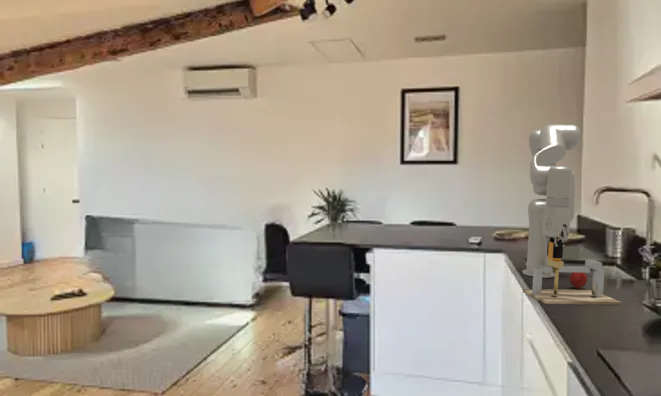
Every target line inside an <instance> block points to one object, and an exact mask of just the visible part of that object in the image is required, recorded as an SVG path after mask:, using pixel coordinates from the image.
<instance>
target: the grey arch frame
mask: <svg viewBox="0 0 661 396" xmlns="http://www.w3.org/2000/svg"><path fill="white" fill-rule="evenodd" d="M602 267H603V262H601V261H598V260H595V259H585V261H584V266H581V265H579V266H573V265H571V266H570V265H568V266H567V265H564V267H563V268H559V273H572V272H583V273H585V274H587V273H589V274H591V273H592V282H591V284H592V285H591V290H592V294H593V295H595V296H597V297H603V295H604V283H605V282H604V281H605V272H606V271H605V269H603V268H602ZM543 272H553V273H555V267H552V266H539V267H534V271H533V276H532V288H531V289H532V294H533V295H535V296H541V289H543V288H542V287H543V278H542V274H543Z"/></svg>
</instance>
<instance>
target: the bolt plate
mask: <svg viewBox="0 0 661 396" xmlns="http://www.w3.org/2000/svg"><path fill="white" fill-rule="evenodd" d="M522 293H525V294H526V295H528V296H530V297H532V298H533V299H536V300H537V301H539V302H541V303H543V304H544V305H596V306H597V305H598V306H599V305H600V306H601V305H604V306H606V305H607V306H608V305H609V306H621V304H622V301H620V300H617V299H615V298H612V297H610V296H608V295H605V294H603V297H597V296H595V295H593V294H592V289H558V293H557V294H554V289H549V288H548V289H543V288H542V289H541V296H535V295H533V294H532V288H531V289H530V288H524V289H523V288H522Z"/></svg>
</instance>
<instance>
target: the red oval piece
mask: <svg viewBox="0 0 661 396" xmlns="http://www.w3.org/2000/svg"><path fill="white" fill-rule="evenodd" d="M570 273H571V274H570V275H569V282H570V284H571V285H572V286H573V287H574V288H575V289H576V290H581V289H582V288H583V287H584V286H585V285H586V284H587V282H588V277H587V275H586V273H583V272H570Z"/></svg>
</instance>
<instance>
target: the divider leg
mask: <svg viewBox="0 0 661 396" xmlns="http://www.w3.org/2000/svg"><path fill="white" fill-rule="evenodd" d="M553 246H555V242H549V249H548V265H549V266H552V267H555V272H554V273H555V277H554V282H553V290H554V294H557V293H558V290H559V289H558V288H559V276H560V272H559V268H563V267H564V266H565V265H564V263H565V261H563V260H562V258H553Z"/></svg>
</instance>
